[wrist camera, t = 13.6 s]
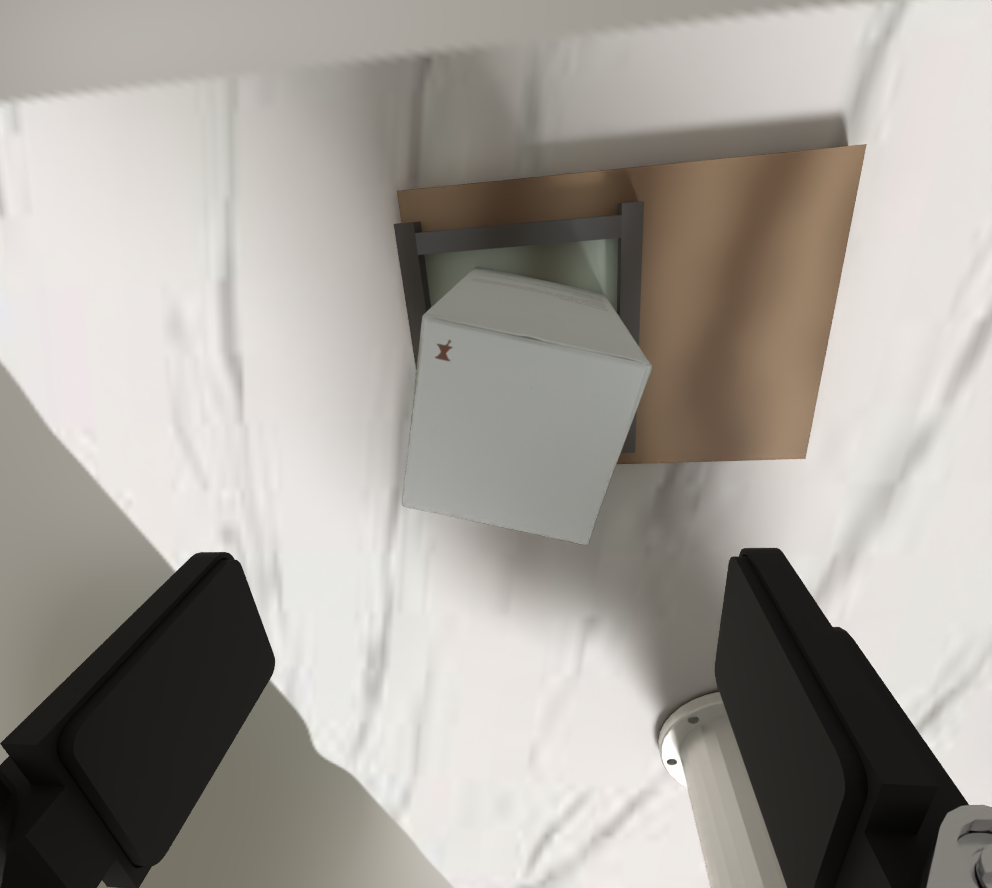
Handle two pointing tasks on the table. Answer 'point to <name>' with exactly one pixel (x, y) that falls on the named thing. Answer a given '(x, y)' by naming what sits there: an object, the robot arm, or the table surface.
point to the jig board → (671, 281)
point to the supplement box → (521, 404)
